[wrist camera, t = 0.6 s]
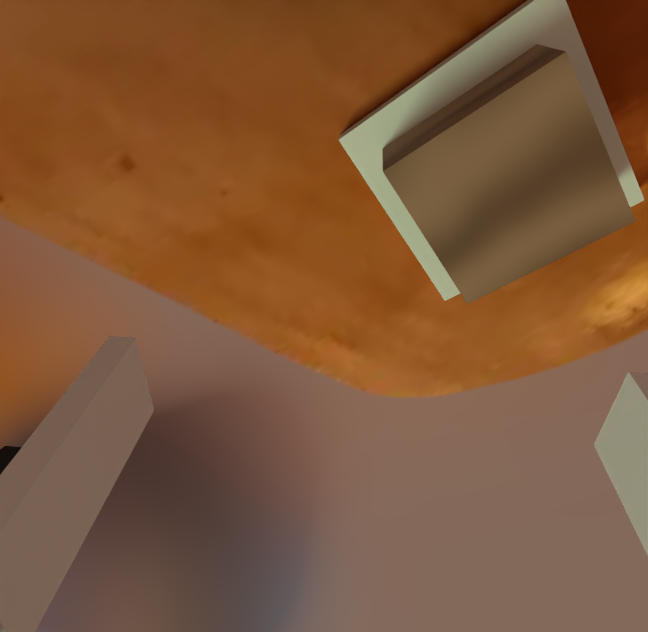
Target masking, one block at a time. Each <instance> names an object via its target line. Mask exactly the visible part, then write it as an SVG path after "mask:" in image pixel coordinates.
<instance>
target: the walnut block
mask: <svg viewBox="0 0 648 632" xmlns="http://www.w3.org/2000/svg"><path fill="white" fill-rule="evenodd" d="M382 155H383V173H384V174H385V176H386V177H387V179H388V181H389V182H390V184H391V185H392V187H393V188H394V190H395V192H396V193H397V195H398V196H399V198H400V199H401V201H402V203H403V204H404V206H405V207H406V209H407V210H408V212H409V213H410V215H411V217H412V218H413V220H414V221H415V223H416V224H417V226H418V228H419V229H420V231H421V232H422V234H423V235H424V237H425V239H426V240H427V242H428V243H429V245H430V246H431V248H432V249H433V251H434V253H435V254H436V256H437V257H438V259H439V260H440V262H441V264H442V265H443V267H444V268H445V270H446V271H447V273H448V275H449V276H450V278H451V279H452V281H453V282H454V284H455V285H456V287H457V289H458V290H459V292H460V293H461V295H462V296H463V298H464V300H465V301H466V303H467V304H468V303H470V302H473V301H475V300H477V299H479V298H481V297H483V296H485V295H487V294H489V293H491V292H493V291H495V290H497V289H499V288H501V287H503V286H505V285H507V284H509V283H511V282H513V281H515V280H517V279H519V278H521V277H523V276H525V275H527V274H529V273H531V272H533V271H535V270H537V269H539V268H541V267H544V266H546V265H548V264H550V263H552V262H554V261H556V260H558V259H560V258H562V257H564V256H566V255H568V254H570V253H572V252H574V251H576V250H578V249H580V248H582V247H584V246H586V245H588V244H590V243H592V242H594V241H596V240H598V239H600V238H602V237H604V236H606V235H608V234H610V233H612V232H615V231H617V230H619V229H621V228H623V227H625V226H627V225H629V224H631V223H633V222H635V218H634V216H633V213H632V211H631V208H630V206H629V204H628V201H627V199H626V196H625V194H624V191H623V189H622V187H621V184H620V182H619V179H618V177H617V174H616V172H615V170H614V167H613V165H612V162H611V160H610V157H609V155H608V153H607V150H606V148H605V145H604V143H603V140H602V138H601V135H600V133H599V131H598V128H597V126H596V123H595V121H594V118H593V116H592V114H591V111H590V109H589V106H588V104H587V101H586V99H585V97H584V94H583V92H582V89H581V87H580V84H579V82H578V80H577V77H576V75H575V72H574V70H573V67H572V65H571V63H570V60H569V58H568V55H567V53H566V51H562V50H558V49H554V48H550V47H546V46H542V45H539V44H536V45H535V46H533V47H532V48H531V49H529V50H528V51H526V52H525V53H523V54H522V55H520V56H519V57H517V58H516V59H514V60H513V61H511V62H510V63H508V64H507V65H505V66H504V67H502V68H501V69H499V70H498V71H496V72H495V73H494V74H492V75H491V76H489V77H488V78H486V79H485V80H483V81H482V82H480V83H479V84H477V85H476V86H474V87H473V88H471V89H470V90H468V91H467V92H465V93H464V94H462V95H461V96H459V97H458V98H457V99H455V100H454V101H452V102H451V103H449V104H448V105H446V106H445V107H443V108H442V109H440V110H439V111H437V112H436V113H434V114H433V115H431V116H430V117H428V118H427V119H425V120H424V121H422V122H421V123H420V124H418V125H417V126H415V127H414V128H412V129H411V130H409V131H408V132H406V133H405V134H403V135H402V136H400V137H399V138H397V139H396V140H394V141H393V142H391V143H390V144H388V145H387V146H385V147H384V148H383V149H382Z"/></svg>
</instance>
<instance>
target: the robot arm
mask: <svg viewBox="0 0 648 632" xmlns="http://www.w3.org/2000/svg"><path fill="white" fill-rule="evenodd" d="M153 411H154V409H153V405H152V400H151V396H150V392H149V388H148V384H147V380H146V376H145V372H144V368H143V364H142V360H141V356H140V351H139V347H138V343H137V339H136V338H131V337H115V336H109V337H108V339H107V340H106V341H105V342H104V344H103V345H102V346H101V347H100V349H99V350H98V351H97V352H96V354H95V355H94V356H93V358H92V359H91V360H90V362H89V363H88V364H87V365H86V366H85V368H84V369H83V370H82V372H81V373H80V374H79V375H78V377H77V378H76V379H75V380H74V382H73V383H72V384H71V386H70V387H69V388H68V389H67V391H66V392H65V393H64V394H63V396H62V397H61V398H60V400H59V401H58V402H57V403H56V405H55V406H54V407H53V408H52V410H51V411H50V412H49V414H48V415H47V416H46V417H45V419H44V420H43V421H42V422H41V424H40V425H39V427H37V429H36V430H35V431H34V433H33V434H32V435H31V436H30V438H29V439H28V440H27V442H26V443H25V444H24V445H23V447H10V446H5V447H3V448H2V449H0V632H35V630H36V629H37V626H38V625H39V623H40V621H41V619H42V617H43V615H44V614H45V612H46V610H47V608H48V606H49V604H50V602H51V601H52V599H53V597H54V595H55V593H56V591H57V589H58V588H59V586H60V584H61V582H62V580H63V578H64V576H65V574H66V573H67V571H68V569H69V567H70V565H71V563H72V562H73V560H74V558H75V556H76V554H77V552H78V550H79V549H80V547H81V545H82V543H83V541H84V539H85V537H86V536H87V534H88V532H89V530H90V528H91V526H92V524H93V523H94V521H95V519H96V517H97V515H98V513H99V511H100V510H101V508H102V506H103V504H104V502H105V500H106V498H107V497H108V495H109V493H110V491H111V489H112V487H113V485H114V483H115V481H116V479H117V478H118V476H119V474H120V472H121V470H122V469H123V467H124V465H125V463H126V461H127V459H128V457H129V456H130V453H131V452H132V450H133V448H134V446H135V444H136V443H137V441H138V439H139V437H140V435H141V433H142V431H143V430H144V428H145V426H146V424H147V422H148V420H149V418H150V417H151V415H152V413H153ZM594 446H595V448H596V450H597V452H598V454H599V456H600V459H601V461H602V463H603V464H604V467H605V469H606V471H607V473H608V475H609V477H610V479H611V481H612V483H613V485H614V487H615V489H616V492H617V494H618V496H619V498H620V500H621V502H622V504H623V506H624V508H625V510H626V512H627V514H628V516H629V518H630V520H631V522H632V524H633V527H634V529H635V531H636V533H637V535H638V537H639V539H640V541H641V543H642V545H643V547H644V549H645V551H646V553H647V555H648V373H639V372H628V374H627V376H626V378H625V380H624V382H623V385H622V387H621V389H620V391H619V393H618V395H617V397H616V399H615V401H614V403H613V406H612V408H611V410H610V412H609V414H608V416H607V419H606V420H605V422H604V425H603V427H602V429H601V431H600V433H599V435H598V438H597V440H596V441H595V444H594Z"/></svg>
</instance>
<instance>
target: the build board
mask: <svg viewBox="0 0 648 632" xmlns="http://www.w3.org/2000/svg"><path fill="white" fill-rule="evenodd" d="M536 44H539V45H542V46H546V47H550V48H554V49H558V50H562V51H566V53H567V55H568V58H569V60H570V63H571V65H572V67H573V70H574V72H575V75H576V77H577V80H578V82H579V84H580V87H581V89H582V92H583V94H584V97H585V99H586V101H587V104H588V106H589V109H590V111H591V114H592V116H593V118H594V121H595V123H596V126H597V128H598V131H599V133H600V135H601V138H602V140H603V143H604V145H605V148H606V150H607V153H608V155H609V157H610V160H611V162H612V165H613V167H614V170H615V172H616V174H617V177H618V179H619V182H620V184H621V187H622V189H623V191H624V194H625V196H626V199H627V201H628V204H629V206H630V207H632V206H634V205H636V204H638V203H640V202H642V201H643V200H644V198H643V195H642V192H641V190H640V187H639V185H638V182H637V180H636V177H635V175H634V172H633V170H632V167H631V165H630V162H629V159H628V157H627V154H626V152H625V149H624V147H623V144H622V142H621V139H620V137H619V134H618V131H617V129H616V126H615V124H614V121H613V119H612V116H611V114H610V111H609V109H608V106H607V104H606V101H605V98H604V96H603V93H602V91H601V88H600V86H599V83H598V81H597V78H596V76H595V73H594V71H593V68H592V65H591V63H590V60H589V58H588V55H587V53H586V50H585V48H584V45H583V43H582V40H581V37H580V35H579V32H578V30H577V27H576V25H575V22H574V20H573V17H572V15H571V12H570V10H569V7H568V4H567V2H566V0H527V1H526V2H525V3H523V4H522V5H520V6H519V7H518V8H516V9H515V10H513V11H512V12H511V13H509V14H508V15H506V16H505V17H504V18H502V19H501V20H499V21H498V22H497V23H495V24H494V25H492V26H491V27H490V28H488V29H487V30H485V31H484V32H483V33H481V34H480V35H478V36H477V37H476V38H474V39H473V40H471V41H470V42H469V43H467V44H466V45H465V46H463V47H462V48H460V49H459V50H458V51H456V52H455V53H453V54H452V55H451V56H449V57H448V58H446V59H445V60H444V61H442V62H441V63H439V64H438V65H437V66H435V67H434V68H432V69H431V70H430V71H428V72H427V73H425V74H424V75H423V76H421V77H420V78H418V79H417V80H416V81H414V82H413V83H411V84H410V85H409V86H407V87H406V88H405V89H403V90H402V91H400V92H399V93H398V94H396V95H395V96H393V97H392V98H391V99H389V100H388V101H386V102H385V103H384V104H382V105H381V106H379V107H378V108H377V109H375V110H374V111H372V112H371V113H370V114H368V115H367V116H365V117H364V118H363V119H361V120H360V121H358V122H357V123H356V124H354V125H353V126H351V127H350V128H349V129H347V130H346V131H345V132H343V133H342V134H340V137H339V141H340V143H341V144H342V146H343V147H344V149H345V150H346V152H347V154H348V155H349V157H350V158H351V160H352V161H353V163H354V164H355V166H356V167H357V169H358V170H359V172H360V173H361V175H362V176H363V178H364V179H365V181H366V182H367V184H368V185H369V187H370V188H371V190H372V191H373V193H374V194H375V196H376V197H377V199H378V200H379V202H380V203H381V205H382V206H383V208H384V209H385V211H386V212H387V214H388V215H389V217H390V218H391V220H392V222H393V223H394V225H395V226H396V228H397V229H398V231H399V232H400V234H401V235H402V237H403V238H404V240H405V241H406V243H407V244H408V246H409V247H410V249H411V250H412V252H413V253H414V255H415V256H416V258H417V259H418V261H419V262H420V264H421V265H422V267H423V268H424V270H425V271H426V273H427V274H428V276H429V277H430V279H431V280H432V282H433V283H434V285H435V287H436V288H437V290H438V291H439V293H440V294H441V296H442V297H443V299H444V300H445V301H446V300H448V299H450V298H452V297H454V296H456V295H458V294H459V293H460V292H459V290H458V289H457V287H456V285H455V284H454V282H453V281H452V279H451V278H450V276H449V275H448V273H447V271H446V270H445V268H444V267H443V265H442V264H441V262H440V260H439V259H438V257H437V256H436V254H435V253H434V251H433V249H432V248H431V246H430V245H429V243H428V242H427V240H426V239H425V237H424V235H423V234H422V232H421V231H420V229H419V228H418V226H417V224H416V223H415V221H414V220H413V218H412V217H411V215H410V213H409V212H408V210H407V209H406V207H405V206H404V204H403V203H402V201H401V199H400V198H399V196H398V195H397V193H396V192H395V190H394V188H393V187H392V185H391V184H390V182H389V181H388V179H387V177H386V176H385V174H384V173H383V155H382V149H383V148H384V147H385V146H387V145H388V144H390V143H391V142H393V141H394V140H396V139H397V138H399V137H400V136H402V135H403V134H405V133H406V132H408V131H409V130H411V129H412V128H414V127H415V126H417V125H418V124H420V123H421V122H422V121H424V120H425V119H427V118H428V117H430V116H431V115H433V114H434V113H436V112H437V111H439V110H440V109H442V108H443V107H445V106H446V105H448V104H449V103H451V102H452V101H454V100H455V99H457V98H458V97H459V96H461V95H462V94H464V93H465V92H467V91H468V90H470V89H471V88H473V87H474V86H476V85H477V84H479V83H480V82H482V81H483V80H485V79H486V78H488V77H489V76H491V75H492V74H494V73H495V72H496V71H498V70H499V69H501V68H502V67H504V66H505V65H507V64H508V63H510V62H511V61H513V60H514V59H516V58H517V57H519V56H520V55H522V54H523V53H525V52H526V51H528V50H529V49H531V48H532V47H533V46H535V45H536Z"/></svg>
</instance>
